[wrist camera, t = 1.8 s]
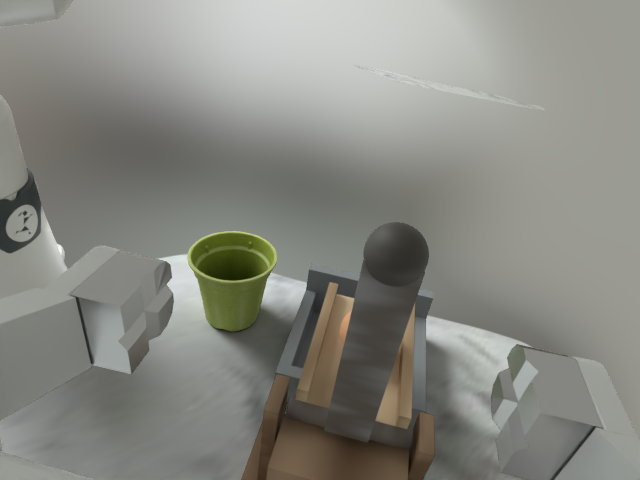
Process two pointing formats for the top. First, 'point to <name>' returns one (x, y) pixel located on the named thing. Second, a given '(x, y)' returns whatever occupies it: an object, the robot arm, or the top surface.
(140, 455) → the top surface
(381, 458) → the lever stand
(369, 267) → the launcher
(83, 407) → the top surface
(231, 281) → the plant pot
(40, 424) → the top surface
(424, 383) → the bin
